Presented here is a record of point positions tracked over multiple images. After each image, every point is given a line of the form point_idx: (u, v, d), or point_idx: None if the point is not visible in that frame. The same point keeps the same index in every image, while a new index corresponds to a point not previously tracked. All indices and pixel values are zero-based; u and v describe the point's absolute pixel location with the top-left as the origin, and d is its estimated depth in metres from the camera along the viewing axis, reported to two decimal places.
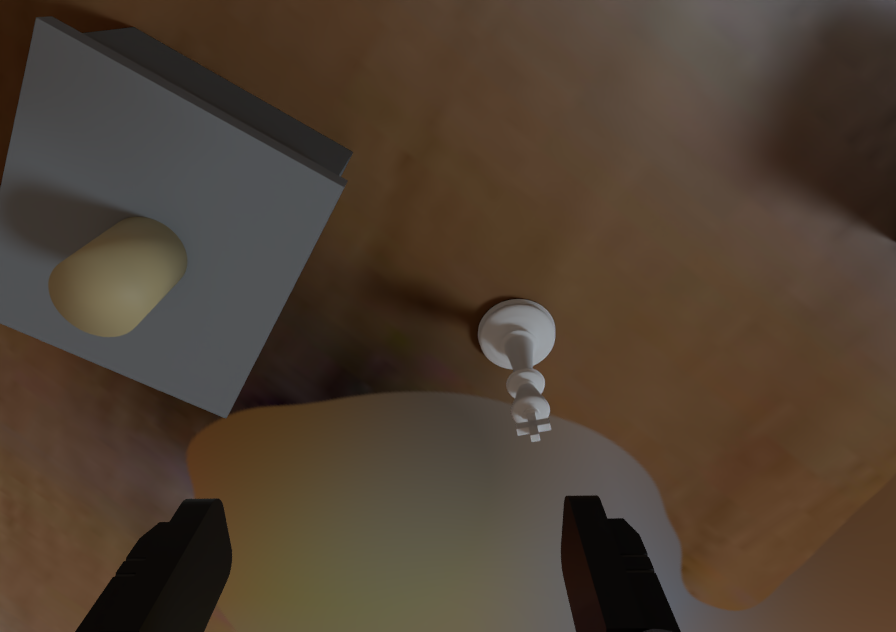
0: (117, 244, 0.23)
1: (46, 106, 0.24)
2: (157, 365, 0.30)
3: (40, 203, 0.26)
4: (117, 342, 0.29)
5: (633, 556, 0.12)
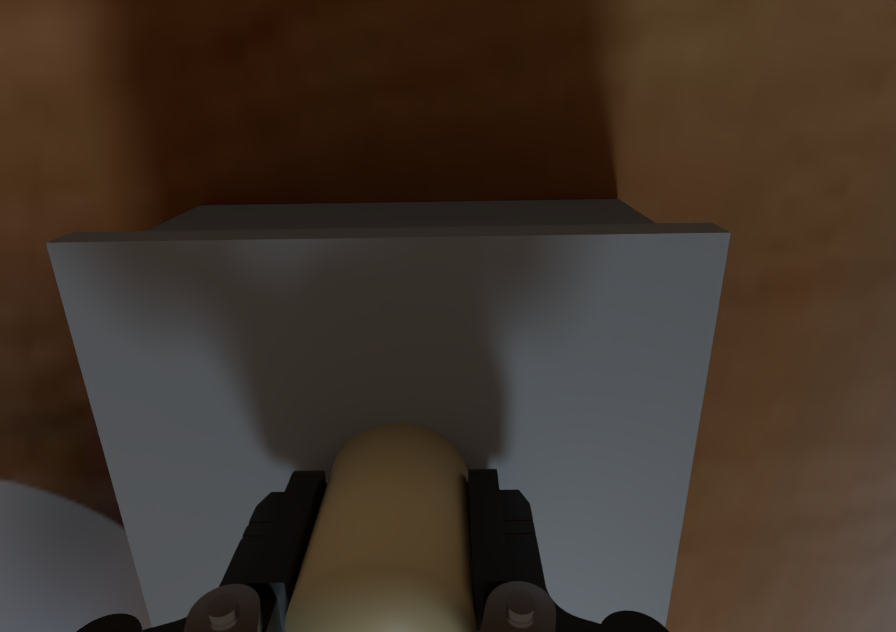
0: None
1: (582, 279, 0.13)
2: (186, 552, 0.16)
3: (387, 308, 0.13)
4: (185, 487, 0.15)
5: (519, 522, 0.13)
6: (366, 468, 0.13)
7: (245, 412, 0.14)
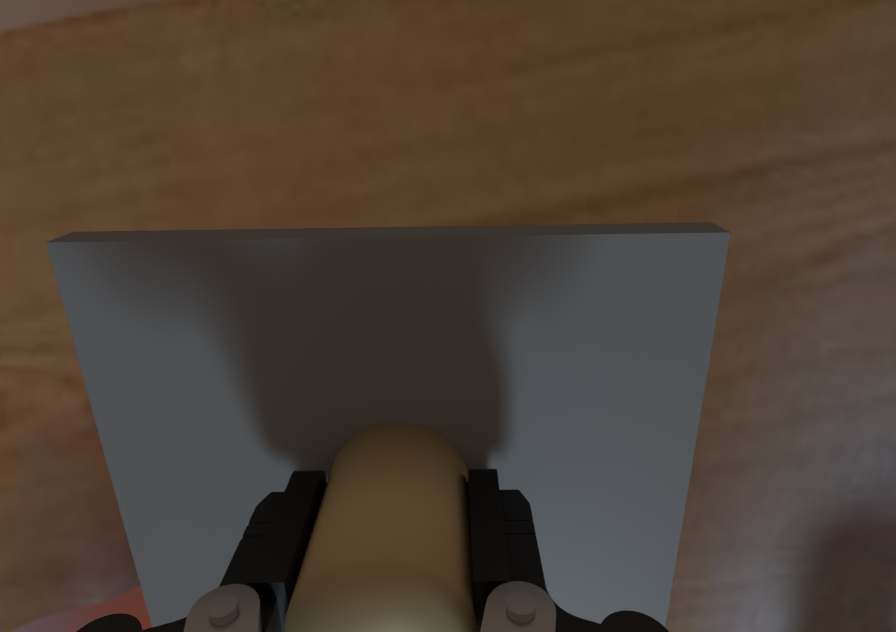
0: None
1: (582, 279, 0.13)
2: (186, 552, 0.16)
3: (387, 308, 0.13)
4: (185, 487, 0.15)
5: (519, 522, 0.13)
6: (366, 468, 0.13)
7: (245, 412, 0.14)
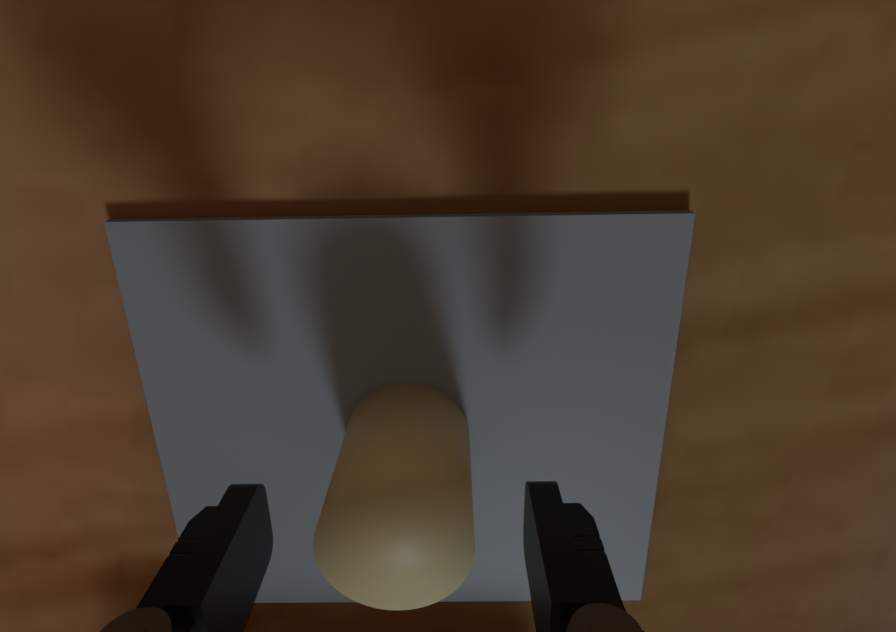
0: (471, 494, 0.14)
1: (567, 254, 0.15)
2: (219, 500, 0.18)
3: (398, 280, 0.15)
4: (218, 441, 0.17)
5: (586, 538, 0.12)
6: (380, 417, 0.15)
7: (273, 372, 0.16)
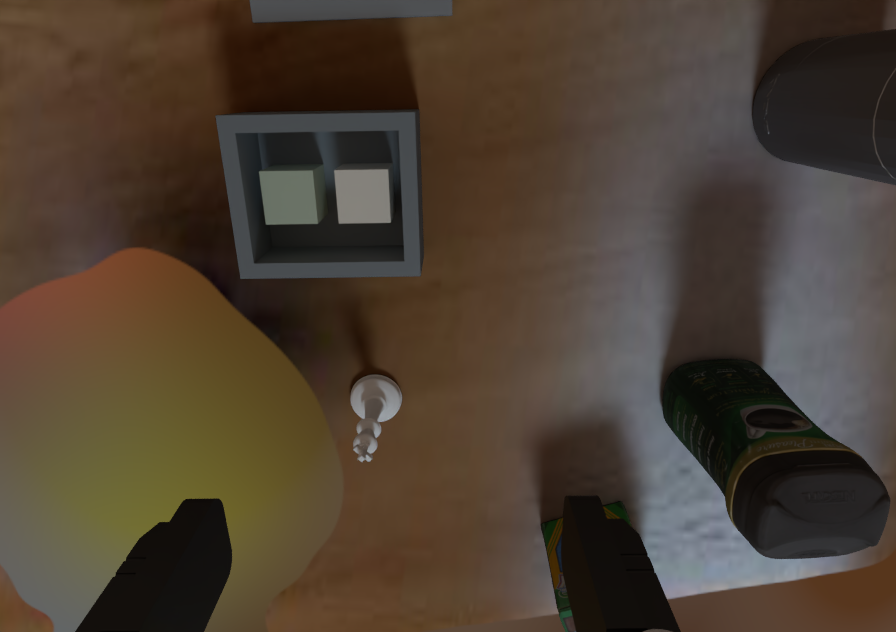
0: None
1: None
2: None
3: None
4: None
5: (633, 556, 0.12)
6: None
7: None
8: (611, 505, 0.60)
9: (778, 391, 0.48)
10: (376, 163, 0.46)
